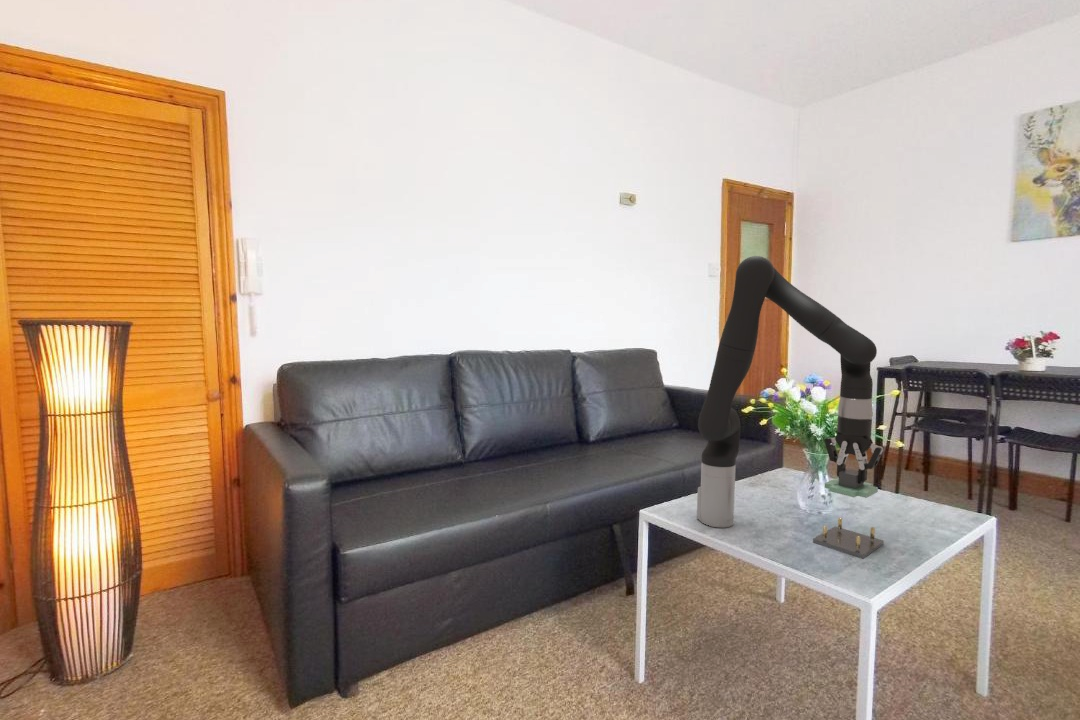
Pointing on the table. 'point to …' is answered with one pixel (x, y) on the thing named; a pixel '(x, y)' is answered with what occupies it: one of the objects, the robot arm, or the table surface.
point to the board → (850, 491)
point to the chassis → (848, 541)
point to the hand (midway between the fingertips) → (851, 480)
